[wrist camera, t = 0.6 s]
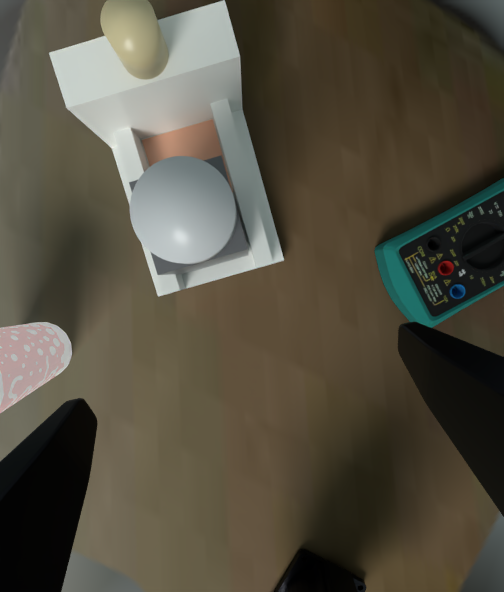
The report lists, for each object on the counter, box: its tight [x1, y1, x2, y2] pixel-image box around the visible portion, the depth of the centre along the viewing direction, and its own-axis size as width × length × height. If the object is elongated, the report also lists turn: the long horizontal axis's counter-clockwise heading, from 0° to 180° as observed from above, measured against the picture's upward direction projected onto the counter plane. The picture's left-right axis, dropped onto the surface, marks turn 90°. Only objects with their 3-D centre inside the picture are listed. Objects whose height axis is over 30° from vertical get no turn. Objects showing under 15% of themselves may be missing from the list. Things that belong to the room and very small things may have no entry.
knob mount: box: [49, 0, 284, 296], centre depth 20 cm, size 14×10×9 cm
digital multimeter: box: [375, 178, 504, 328], centre depth 24 cm, size 7×15×3 cm, turn 119°
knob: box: [129, 155, 248, 275], centre depth 19 cm, size 5×5×9 cm
